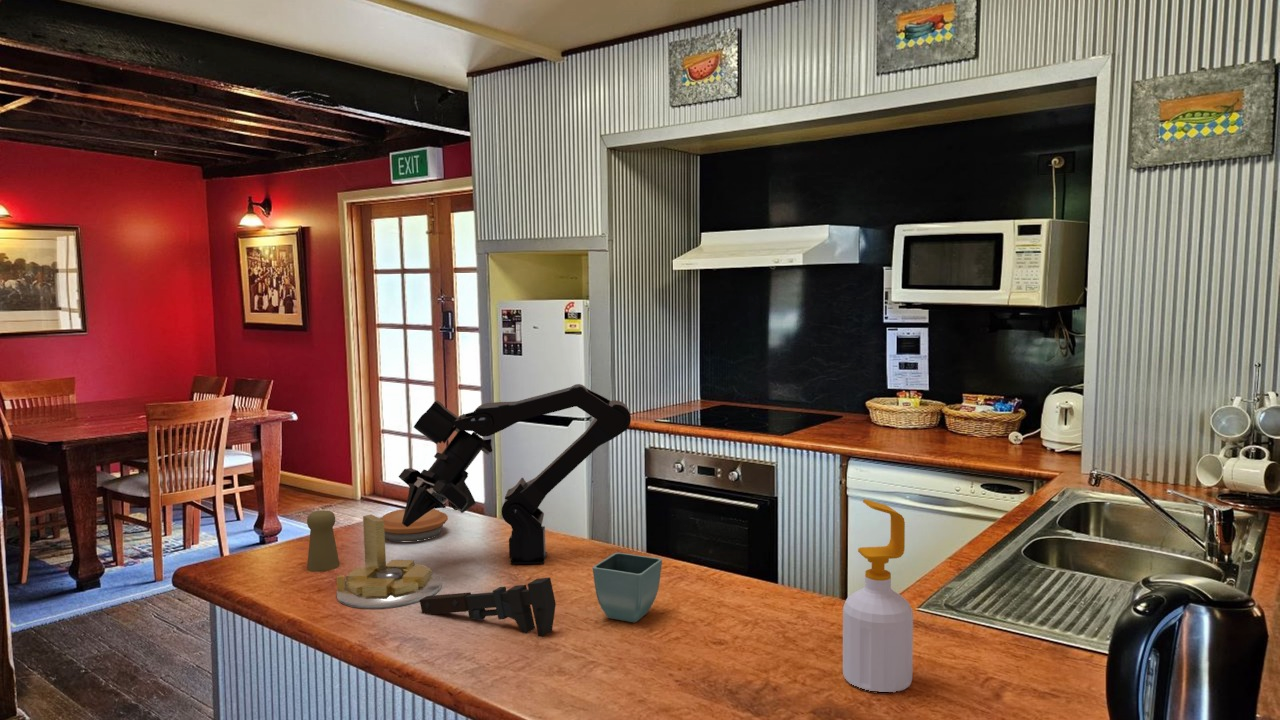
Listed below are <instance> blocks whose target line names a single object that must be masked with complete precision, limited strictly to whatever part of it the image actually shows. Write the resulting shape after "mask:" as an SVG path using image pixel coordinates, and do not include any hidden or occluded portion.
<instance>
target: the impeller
mask: <svg viewBox="0 0 1280 720" xmlns="http://www.w3.org/2000/svg"><path fill="white" fill-rule="evenodd" d="M376 574H377V578H392V579H394V581H395V580H399V579H402V570H401V569H397V568H389V569H384V570H380V571H378V572H377V573H376ZM431 574H432V579H431V580H430V581H429V582H428V583H427V584H426V585H425V586H424V587H418V590H414V591H410V592H406V593H402V594H398V595H394V594H392V593H390V594H389V595H388V596H362V593H361V594H357V595H356V594H355V593H353V592H352V591H350V590H349V589H347V583H346V582H347V580H346V575H345V574H342V575H338V574H337V576H336V598H337V602H339V603H341V604H343V605H345V606H347V607H350V608H356V609H363V610H364V609H365V610H378V609H380V610H384V609H393V608H400V607H404V606H409V605H413V604H417V603H420V599H422V598H424V597H426V596H434V595H436V594H438V593H439V591H440V590H441V588H442V578H441V576H440V575H439V574H437V573H435V572H433V571H431Z"/></svg>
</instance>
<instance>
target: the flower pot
mask: <svg viewBox="0 0 1280 720" xmlns="http://www.w3.org/2000/svg"><path fill="white" fill-rule="evenodd" d="M662 564H663V559H662V558H659V557H652V556H646V555H645V556H644V555H637V554H631V553H625V552H624V553H623V552H615V553H612V554H610V556H609V555H608V557H606V558H605V559H604V560H602V561H600V562H598V563H597V564H595V565H594V566H592V574H593V581H594V587H595V594H596V598H597V601H598V604H599V606H600V608H601V610H602V611H603V613H604V614H605V615H606V617H607V618H608V619H611V620H618V621H623V622H629V623H637V622H638V621H640V619H642V618H643V617H644V616H645V615H647V614H648V613H649V611H650V610H651V608H652V606H653V604H654V603H655V600H656V597H657V595H658V591H659V587H660V582H661V581H660V580H661V572H662Z"/></svg>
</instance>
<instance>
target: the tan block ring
mask: <svg viewBox="0 0 1280 720" xmlns="http://www.w3.org/2000/svg"><path fill="white" fill-rule="evenodd" d="M380 518H381V517H378V516H376V515H374V514H367V515H363V516H362V521H363V525H362V526H363V542H364V543H363V544H364V561H365V562H364V564H365V566H364V567H355V569H353V570H352V571H351V572H349V573H348V574H347V575H345V579H346V581H347V582H346V583H347V589H349V590H350V591H352V592H353V593H355V594H356V595H357V594H361V593H362V596H388V595H389V594H390V593H392V594H394V595H398V594H402V593H406V592H410V591H414V590H418V587H424V586H425V585H426V584H427V583H428V582H429V581H430V580H431V579H432V574H431V572H432V568H428V567H427V566H424V565H423V564H420V563H418V564H415V563H416V562H415V559H391V560H390V561H389V562H388V563H387V558H386V556H387V555H386V537H385V532H384V520H382V519H380ZM389 568H397V569H401V570H402V579H399V580H395V581H394V579H392V578H377V574H376V573H377V572H378V571H380V570H384V569H389Z"/></svg>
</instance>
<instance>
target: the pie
mask: <svg viewBox="0 0 1280 720" xmlns="http://www.w3.org/2000/svg"><path fill="white" fill-rule="evenodd" d="M404 512H405V508H403V509H397V510H393V511H390V512H387V513H385V514H384V515H383V516H382V517H379V518H380V519H382V520H384V532H385V539H387V540H388V539H389V541H390V540H391V542H394V541H417V540H423V541H425V540H424V539H427V540H429V539H428V538H431V539H433V538H435V537H437V536H438V535H439V534H440V532H441V530H442V529H443V527H444V524H446V522H447V521H448V520H449V517H448V514H447V513H445V512H441V511H440V510H439V509H437V508H436V509H432V510H430V511H429V512H427V513H426V514H424V515H423V516H422V517H420V518H419V519H418V520H416V521H415V522H414V523H412V524H411V525H410V526H408V527H406V526H404V525H403V524H402V521H403V516H404ZM434 536H435V537H434ZM432 537H433V538H432ZM417 542H418V541H417Z"/></svg>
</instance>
